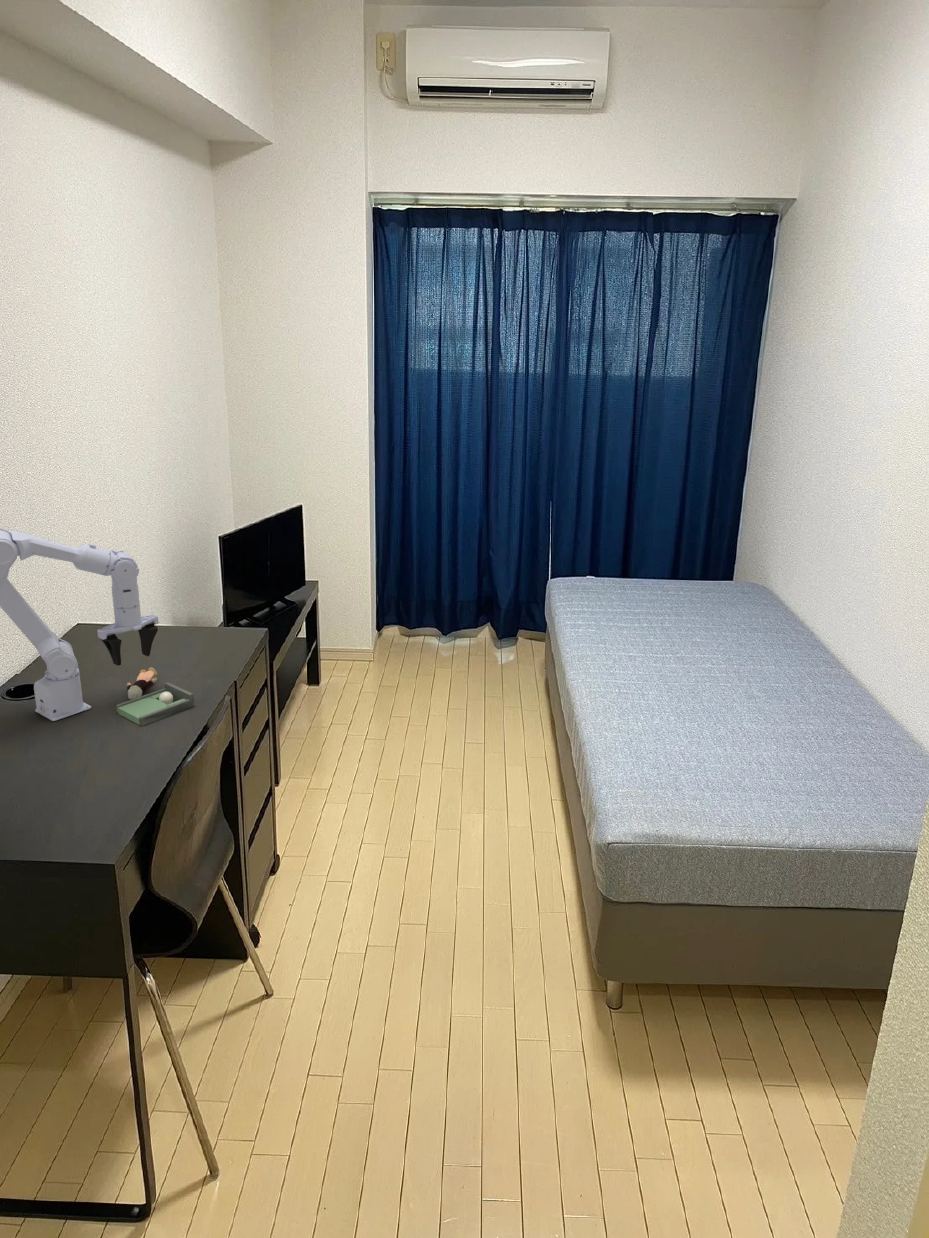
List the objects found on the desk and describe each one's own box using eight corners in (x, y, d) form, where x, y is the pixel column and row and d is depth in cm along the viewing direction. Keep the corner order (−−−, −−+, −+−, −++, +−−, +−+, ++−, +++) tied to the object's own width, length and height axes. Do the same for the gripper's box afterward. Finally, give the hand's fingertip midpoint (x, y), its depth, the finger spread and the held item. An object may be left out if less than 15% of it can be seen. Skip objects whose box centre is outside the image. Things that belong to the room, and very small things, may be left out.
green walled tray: (141, 726, 203) (140, 713, 202) (116, 713, 209) (115, 700, 207) (194, 706, 213) (193, 693, 212) (169, 694, 219) (168, 682, 218)
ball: (176, 703, 214) (167, 709, 212) (166, 698, 216) (156, 705, 213) (175, 692, 213) (165, 698, 210) (165, 687, 214) (155, 694, 211)
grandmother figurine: (141, 685, 227) (123, 709, 215) (133, 672, 226) (114, 695, 214) (167, 673, 226) (151, 697, 214) (159, 661, 225) (142, 684, 213)
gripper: (107, 616, 201) (113, 673, 205) (164, 601, 212) (168, 655, 216) (90, 609, 205) (96, 664, 209) (146, 594, 216) (151, 647, 220)
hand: (131, 659), depth 213 cm, fingers open, 7 cm apart
